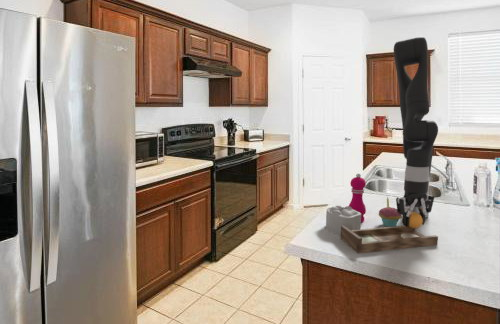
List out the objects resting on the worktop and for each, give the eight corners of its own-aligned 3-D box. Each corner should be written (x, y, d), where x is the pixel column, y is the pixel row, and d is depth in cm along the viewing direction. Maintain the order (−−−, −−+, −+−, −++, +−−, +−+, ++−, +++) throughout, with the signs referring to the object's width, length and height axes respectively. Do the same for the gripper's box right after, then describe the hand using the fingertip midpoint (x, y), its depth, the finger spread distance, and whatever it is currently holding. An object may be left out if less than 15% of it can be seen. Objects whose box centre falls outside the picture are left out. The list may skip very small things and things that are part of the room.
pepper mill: (366, 223, 134) (369, 175, 131) (348, 222, 136) (350, 175, 132) (364, 218, 141) (366, 172, 138) (346, 217, 143) (348, 171, 139)
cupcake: (390, 230, 127) (392, 200, 125) (373, 223, 134) (374, 194, 132) (405, 226, 131) (407, 197, 129) (387, 220, 138) (389, 192, 136)
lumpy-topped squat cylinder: (346, 237, 120) (348, 214, 119) (319, 227, 130) (320, 206, 129) (363, 231, 126) (364, 209, 125) (336, 222, 137) (336, 201, 135)
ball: (414, 224, 120) (415, 209, 119) (425, 229, 115) (427, 214, 114) (401, 225, 119) (402, 210, 118) (411, 231, 114) (413, 215, 113)
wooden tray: (413, 232, 125) (414, 219, 124) (437, 244, 113) (438, 230, 112) (340, 239, 119) (340, 225, 118) (358, 253, 107) (358, 238, 106)
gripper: (426, 174, 119) (422, 219, 122) (391, 177, 116) (388, 223, 119) (442, 179, 112) (438, 226, 115) (406, 182, 109) (402, 230, 112)
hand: (413, 224), depth 117 cm, fingers closed on ball, 5 cm apart
